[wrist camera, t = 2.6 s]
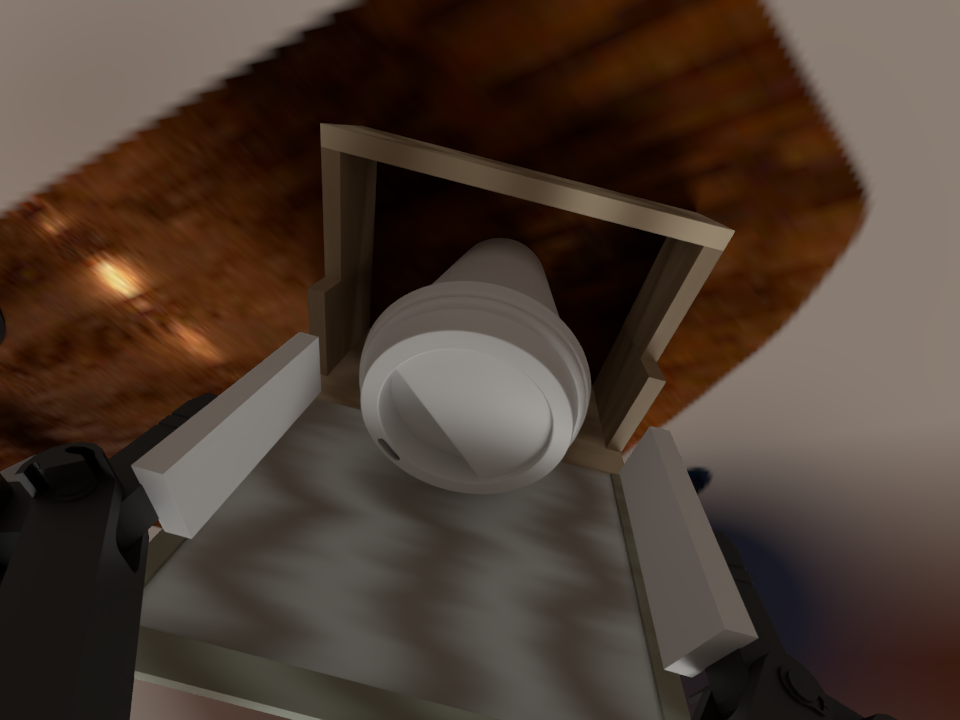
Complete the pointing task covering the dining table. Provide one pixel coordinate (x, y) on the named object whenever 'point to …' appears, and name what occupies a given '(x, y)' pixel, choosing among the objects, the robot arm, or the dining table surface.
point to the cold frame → (429, 517)
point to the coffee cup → (476, 375)
